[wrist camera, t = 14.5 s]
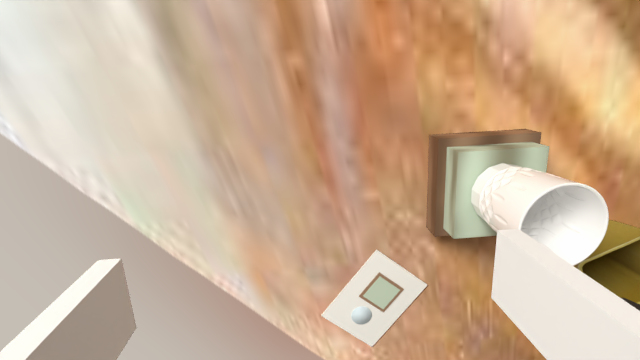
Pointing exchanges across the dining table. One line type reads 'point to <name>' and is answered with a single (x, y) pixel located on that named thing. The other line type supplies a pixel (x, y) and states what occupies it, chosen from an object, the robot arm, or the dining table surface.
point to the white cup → (542, 209)
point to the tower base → (440, 164)
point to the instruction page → (374, 298)
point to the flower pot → (616, 261)
